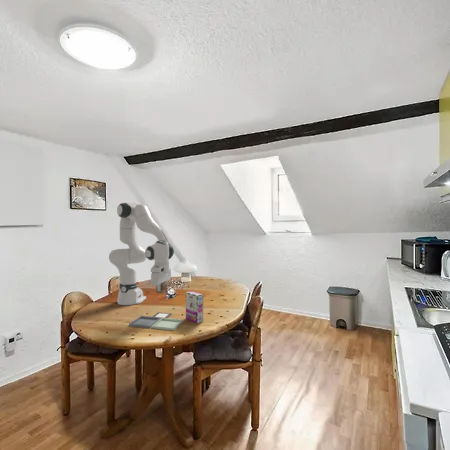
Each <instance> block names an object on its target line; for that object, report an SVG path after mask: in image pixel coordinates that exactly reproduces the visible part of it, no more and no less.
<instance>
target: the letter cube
mask: <svg viewBox="0 0 450 450" xmlns="http://www.w3.org/2000/svg"><path fill="white" fill-rule="evenodd" d="M160 287H161V291H158V288H157V286H156V285H155V290H156V293H157V294H165V293H167V292H168V282H167V283H161V285H160Z"/></svg>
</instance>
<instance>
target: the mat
mask: <svg viewBox="0 0 450 450" xmlns="http://www.w3.org/2000/svg"><path fill="white" fill-rule="evenodd" d="M172 315H173V313H170V312H159V311H158V312H157V313H155V314H154V315H151V317H160V318H170V317H171V316H172Z"/></svg>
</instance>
